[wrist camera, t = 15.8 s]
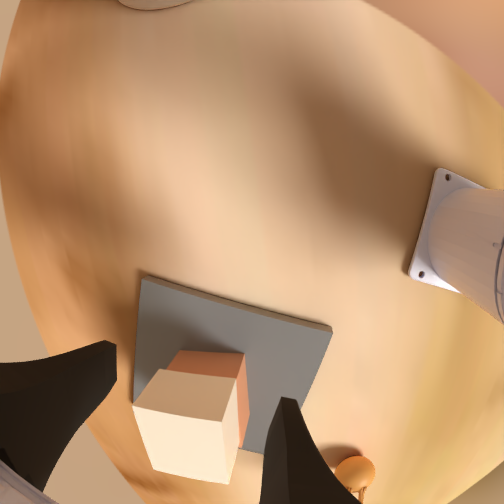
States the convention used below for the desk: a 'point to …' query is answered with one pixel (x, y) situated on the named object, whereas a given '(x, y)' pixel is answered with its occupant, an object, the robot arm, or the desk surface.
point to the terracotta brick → (221, 367)
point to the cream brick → (190, 424)
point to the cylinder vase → (152, 3)
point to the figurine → (356, 474)
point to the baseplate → (229, 346)
